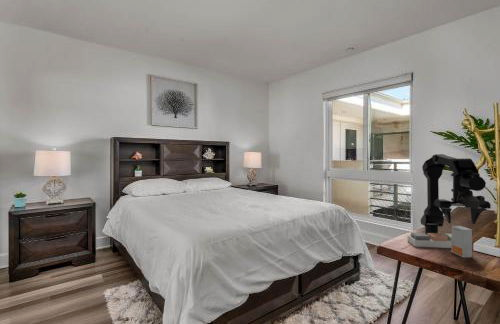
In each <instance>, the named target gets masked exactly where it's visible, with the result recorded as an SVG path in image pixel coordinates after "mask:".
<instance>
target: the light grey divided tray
mask: <svg viewBox="0 0 500 324" xmlns="http://www.w3.org/2000/svg"><path fill="white" fill-rule="evenodd" d="M407 242H409V243H410V245H412V246H414V247H419V248H441V249H442V248H443V249H451V241H449V240H448V241H433V240H431V239H430V240H415V239H414V238H412V237H411V234H407Z"/></svg>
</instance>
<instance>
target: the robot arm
mask: <svg viewBox="0 0 500 324" xmlns="http://www.w3.org/2000/svg"><path fill="white" fill-rule="evenodd" d="M446 167H448V169H449V170H450V171H451V172H452V173H451V174H450V176H451V177H452V188H451V190H450V191H451V192H452V197H451V198H450V200H451V201H450V200H449V199H448V200H447V199H444V198H441V199H440V198H439V197H440V196H439V195H440V194H439V193H440V191H439V189H440V188H439V187H440V186H439V179H440V177H442V175H443V171H444V169H446ZM421 168H422V172H423V173H422V174H423V175H424V177H425V178H426V182H427V183H426V186H427V188H426V190H427V192H426V193H427V194H426V195H427V196H426V198H427V206H426V208H424V210H423V215H422V217H421V218H420V225H423V226H424V233H425V234H427V233H439V227H441V228H443V225H444V221H445V219H446V221H447V223H448V224H451V221H452V218H451V215H452V212H451V211H452V210H453V209H452V208H451V207H452V206H453V207H454V206H456V207H464V208H466V209H470V219H471V223H472V224H473V225H476V222H477V220H478V219H479V217H480V215H481V213H483V212H485V211H488V210H489V209H491V208H492V207H491V206H492V205H491V203H490V201H487V200H486V198H485V196H484V195H474V193H473V191H475V192H480V191H483V190H484V189H485V187H486V186H487V185H486V184H487V182H486V180H485V179H484V178H483V177H481V175H480V173H479V169H478V168H477V166H476V164H475V162H474V161H473V159H471V158H467V157H466V158H457V157H453V156H449V155H446V154H442V153H441V154H433V155H432V156H431V157H430V158H428V159H426V160H425V161H424V163H423V164H422V167H421Z"/></svg>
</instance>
